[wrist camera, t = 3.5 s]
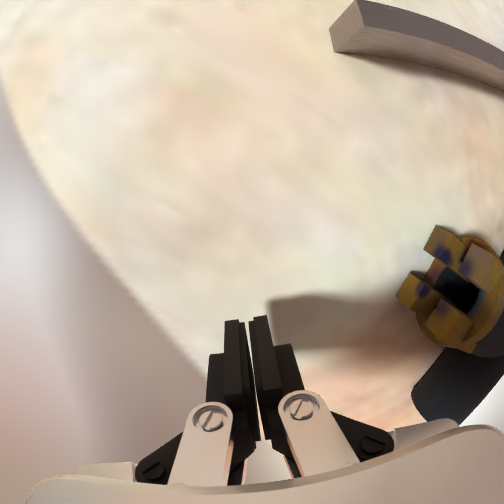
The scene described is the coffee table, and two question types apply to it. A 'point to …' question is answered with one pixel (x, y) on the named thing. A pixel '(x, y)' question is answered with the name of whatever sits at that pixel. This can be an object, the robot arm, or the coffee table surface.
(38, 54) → the coffee table surface
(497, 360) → the pipe connector
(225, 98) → the coffee table surface
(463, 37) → the guide rail
